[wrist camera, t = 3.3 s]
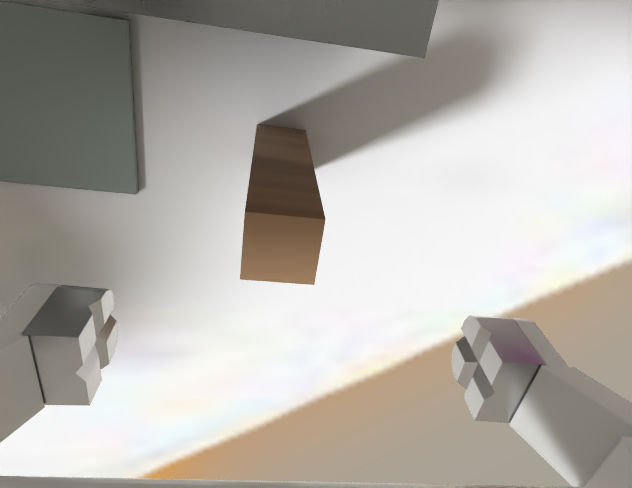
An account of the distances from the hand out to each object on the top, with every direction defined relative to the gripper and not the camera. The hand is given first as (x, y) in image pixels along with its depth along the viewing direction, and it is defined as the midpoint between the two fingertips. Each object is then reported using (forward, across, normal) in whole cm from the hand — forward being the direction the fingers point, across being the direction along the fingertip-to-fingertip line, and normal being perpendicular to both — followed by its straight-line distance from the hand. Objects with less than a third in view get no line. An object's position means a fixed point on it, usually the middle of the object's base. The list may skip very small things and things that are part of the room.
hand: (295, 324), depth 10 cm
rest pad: (+14, -11, +1) cm, 18 cm away
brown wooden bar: (+14, 0, 0) cm, 14 cm away
